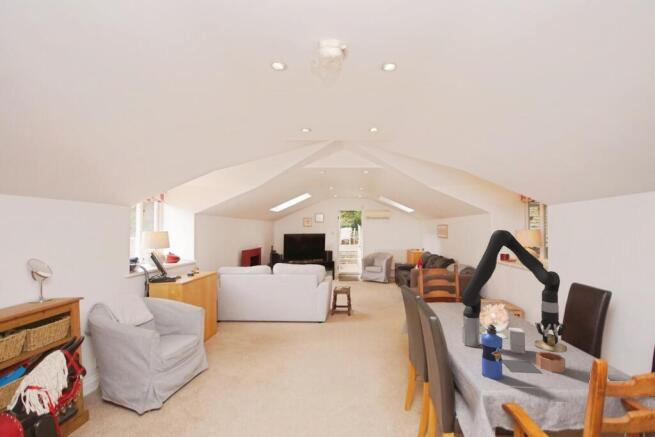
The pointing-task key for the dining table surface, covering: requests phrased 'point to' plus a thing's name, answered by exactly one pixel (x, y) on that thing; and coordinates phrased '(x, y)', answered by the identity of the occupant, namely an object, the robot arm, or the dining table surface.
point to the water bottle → (491, 354)
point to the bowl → (550, 362)
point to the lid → (550, 345)
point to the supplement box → (516, 340)
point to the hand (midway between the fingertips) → (550, 342)
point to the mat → (521, 366)
